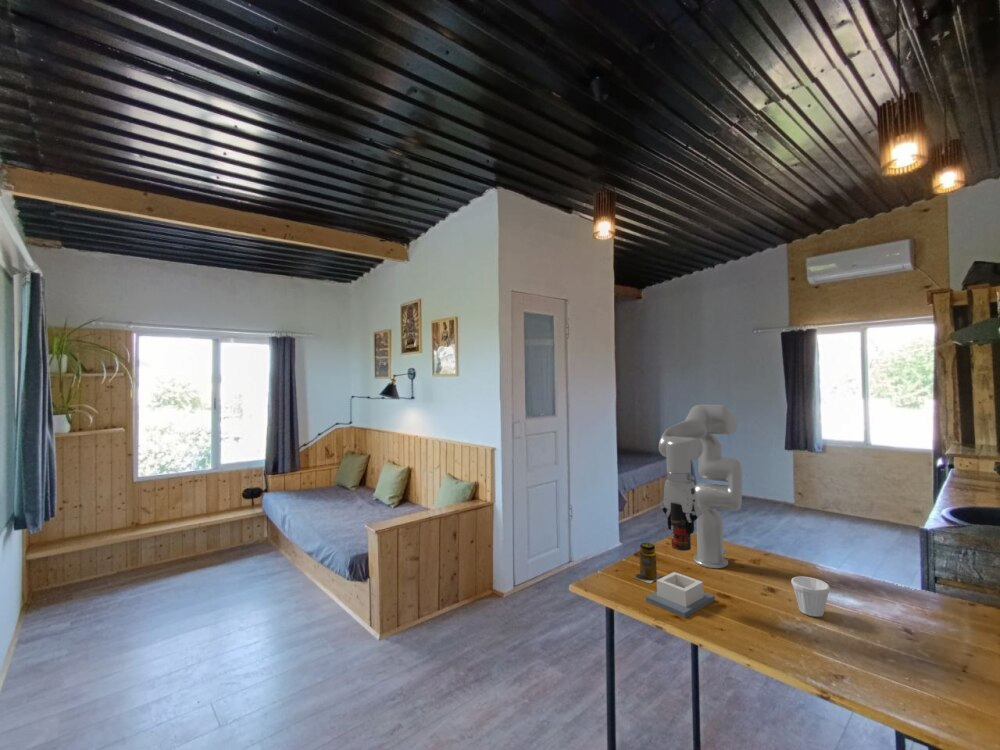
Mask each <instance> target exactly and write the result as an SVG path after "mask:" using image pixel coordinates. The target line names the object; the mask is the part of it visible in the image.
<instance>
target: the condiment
mask: <svg viewBox="0 0 1000 750" xmlns="http://www.w3.org/2000/svg"><path fill="white" fill-rule="evenodd" d="M639 547H640V548H639V550H640V551H639V553H638V554H639V573H637V574H635V575H634V576H632V578H633V579H636V580H638V581H641V582H643V583H647V584H652V583H653V582H655V581H657V580H658V579H660V578H662V575H658V574H657V573H658V572H657V570H658V569H657V553H656V546H655V544H653V543H652V542H651V543H650V542H643V543H640V546H639Z"/></svg>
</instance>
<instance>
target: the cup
mask: <svg viewBox="0 0 1000 750" xmlns="http://www.w3.org/2000/svg"><path fill="white" fill-rule="evenodd" d="M790 582H791V585H792V587H793V591H794V594H795V598H796V601H797V605H798V609H799V611H800V613H801V614H803V615H805V616H808V617H811V618H822V617H823V616H824V613H825V610H826V609H825V608H826V605H827V600H828V596H829V593H830V591H831V586H830V584H828V583H826V582H825V581H824V580H821V579H819V578H815V577H810V576H795V577H792V578H791V581H790ZM821 616H822V617H821Z"/></svg>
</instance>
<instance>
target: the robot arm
mask: <svg viewBox="0 0 1000 750" xmlns="http://www.w3.org/2000/svg"><path fill="white" fill-rule="evenodd" d="M737 429H738V420H737V418H736V416H735V414H734V413H733V411H732V410H731V408H729V406H728V407H727V406H726V405H724V404H703V403H702V404H696V405H694V406H692V407H691V409H690V410H689V412H688V414H687V415H686V417H685V418H684V421H680V422H678V423H675V424H673V425H671V426H670V427H668V428H667V429H665V430H664V432H663V433H662V435H661V437H660V439H659V442H658V452H659V453H660V455H662V456H663V457H665V459H666V480H665V482H664V489H663V499H662V500H661V501H659V503H658V506H659V507H660V509H662V512H664V514H665V517H667V527H668V528H667V529H668V530H671V503H675V504H680V505H682V510H683V513H685V515H686V518H687V520H688V522H686V533H687V534H688V535H689V534H690V535H692V534H694V532H695V522H696V542H697V543H696V545H697V547H696V550H697V554H696V555H695V554H694V556H693V562H695V564H697V565H699V566H701V567H705V568H710V569H724V568H726V567H727V566H728V565H729V561H728V559H726V558H725V557H724V556H725V554H727V553H728V549H727V548H725V547H724V532H723V531H724V530H723V518H722V516H721V515H720V513H719V511H718V510H723V511H733V512H737V511H739V510H740V509H741V507H742V501H743V500H742V499H743V495H742V494H743V471H742V465H741V462H740V461H739V460H738V459H736V458H732V457H722V444H721V442H720V441H719V439H718V438H717V437H716V436H715V435H729V436H730V435H733V434H735V433H736V432H737ZM697 459H698V463H697V464H698V465H697V471H698V475H699V477H700V478H702V479H704V480H708V481H714V482H715V481H717V482H726V483H727V484H728V485H725V484H718V483H711V482H710V483H709V482H701V483H696V484H695V482H694V481H695V479H696V477H695V476H694V475H692V468H691V466H692V465H691V460H697ZM694 512H695V514H694Z"/></svg>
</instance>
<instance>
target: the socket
mask: <svg viewBox="0 0 1000 750" xmlns="http://www.w3.org/2000/svg"><path fill="white" fill-rule="evenodd" d="M715 598H716V597H715V595H713V594H711V593H709V592H705V591H704V581H701V580H698V579H695V578H693V577H690V576H688V575H684V574H683V573H682V574H681V573H678V572H676V571H674V572H670V573H669V574H667V575H665V576H663V577H662V576H661V577H660V578H658V579H657V580H656V591H655V592H653V593H651V594H648V595H646V596H645V602H647V603H650V604H651V605H653V606H656V607H659V608H661V609H662V610H663V609H664V611H668V612H670V613H673V614H674V615H677V616H679V617H682V618H684V619H686V618H687V617H689V616H690V615H692V614H694V613H696V612H697V611H699V610H701V609H703V608H704V607H706V606H707V605H709V604H710V603H713V602H714V601H715Z"/></svg>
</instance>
